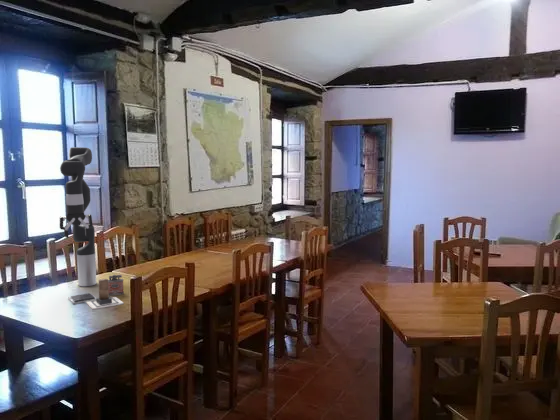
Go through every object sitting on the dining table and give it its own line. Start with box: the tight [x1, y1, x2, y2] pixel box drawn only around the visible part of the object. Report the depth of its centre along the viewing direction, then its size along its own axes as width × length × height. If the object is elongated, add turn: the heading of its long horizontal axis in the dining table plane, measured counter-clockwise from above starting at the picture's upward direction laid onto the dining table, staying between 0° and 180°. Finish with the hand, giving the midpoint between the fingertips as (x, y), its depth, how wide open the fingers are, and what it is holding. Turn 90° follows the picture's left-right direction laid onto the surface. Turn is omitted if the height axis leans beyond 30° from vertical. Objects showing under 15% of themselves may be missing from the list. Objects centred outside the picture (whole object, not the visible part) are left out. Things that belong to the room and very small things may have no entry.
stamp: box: [96, 278, 112, 305], centre depth 217 cm, size 6×6×11 cm
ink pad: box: [67, 293, 97, 305], centre depth 224 cm, size 11×11×1 cm
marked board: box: [85, 296, 124, 310], centre depth 218 cm, size 12×14×1 cm
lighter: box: [108, 274, 125, 296], centre depth 233 cm, size 8×3×10 cm, turn 105°
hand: (77, 236), depth 218 cm, fingers open, 8 cm apart
